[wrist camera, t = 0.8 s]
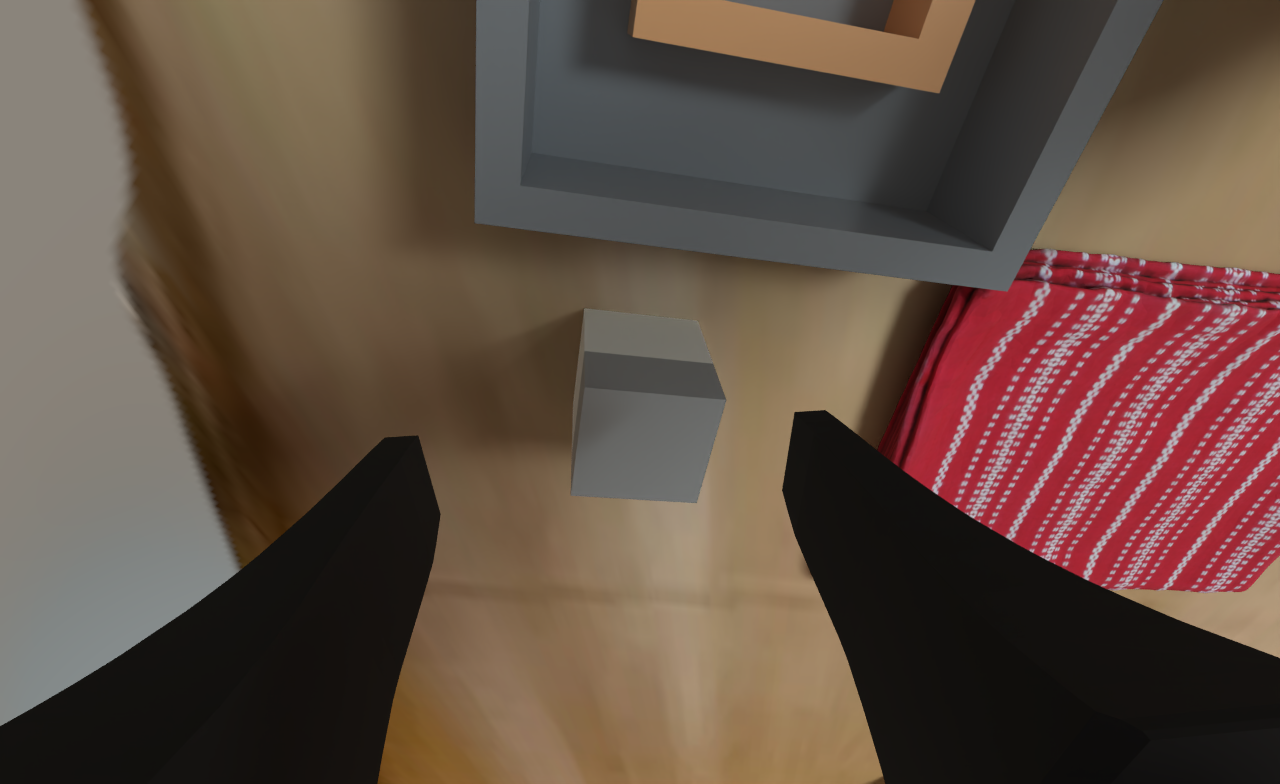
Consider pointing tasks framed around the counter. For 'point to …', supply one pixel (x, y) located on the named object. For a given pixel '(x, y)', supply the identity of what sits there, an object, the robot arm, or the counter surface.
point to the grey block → (643, 408)
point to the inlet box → (796, 124)
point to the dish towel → (1108, 418)
